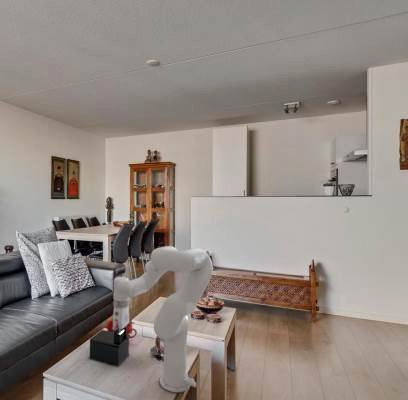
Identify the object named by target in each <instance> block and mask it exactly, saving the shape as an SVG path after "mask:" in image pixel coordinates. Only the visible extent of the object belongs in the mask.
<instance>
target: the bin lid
mask: <svg viewBox="0 0 408 400" xmlns="http://www.w3.org/2000/svg"><path fill="white" fill-rule="evenodd" d="M124 332H125V330H124V329H121V330H120V343H118V342H114V333H113V332H111V331H107V330H104V329H101V330H100V331H98V332H97V333H96V334H95V335H93V336H91V338H90V339H89V342H90V341H94V342H99V343H104V344H108V345H113V346H118V347H120V346H121V345H122V344H123V343H124V342H125V341H126V340H127V339H128V338H129V339H131V338H130V337H131V334H129V335H127V336H126V337H125V336H124ZM121 334H122V336H121Z"/></svg>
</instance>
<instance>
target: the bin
mask: <svg viewBox="0 0 408 400" xmlns="http://www.w3.org/2000/svg"><path fill="white" fill-rule="evenodd" d="M129 354H130V338H128V339H127V340H126V341H125V342H124V343H123V344H122V345H121V346H120V347H118V346H113V345H108V344H104V343H99V342H94V341H90V340H89V359H90V360H93V361H96V362H100V363H103V364H107V365H110V366H113V367H117V368H118V367H120V366H121V364H122V363H123V362H124V361H125V360H126V359H127V358H128V356H129Z"/></svg>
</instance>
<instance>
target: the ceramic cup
mask: <svg viewBox="0 0 408 400" xmlns="http://www.w3.org/2000/svg"><path fill="white" fill-rule="evenodd" d="M131 325H132V324H131V323H130V322H129V323H128V324H127V335H130V338H129V339H133V338H135V337H136V336H137V333H138V332H137V330H136V328H131ZM117 327H118V326H117ZM106 328H107V329H106V331H111V332H113V330H112V328H113V319H112V320H109V321H108V322H107V324H106ZM116 330H117V331H118V329H117V328H116ZM120 330H121V329H120ZM131 331H134V335H131V334H130V333H131Z"/></svg>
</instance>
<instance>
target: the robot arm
mask: <svg viewBox="0 0 408 400" xmlns="http://www.w3.org/2000/svg"><path fill="white" fill-rule="evenodd" d="M144 270H145V271H144V273H142V275H141V276H139V277H137V278H133V279H129V278H128V277H126V276H116V277H115V278H114V279H113V305H112V306H113V313H112V320H113V328H112V330H113V333H114V342H118V343H120V329H124V330H125V332H124V336H125V337H126V336H127V324H128V323H130V307H129V304H130V303H129V301H130V299H129V298H135V297H138V296H140V295H142V294H145V293H146V292H148V291H149V290H151V289H152V288H153V287H154V286H156V284H157V283H158V281H159V280H160V278H161V277H162V276H164V274H166V273H167V272H168V271H170V272H176V273H183V274H184V273H185V274H186V273H189V274H188V275H187V276H186V278H185V279H184V282H183V283H182V286H181V287H180V289H179V290H178V291H175V293H172V294H170V295H169V296H168V297H166V299H165V300H164V302H163V303H162V305H161V307H160V309H159V311H158V313H157V315H156V317H155V319H154V322H153V331H154V333H155V335H156V336H157V338H159V339H160V340H163V343H164V358H163V367H162V368H163V370H162V371H163V373H162V375H161V376H160V378H159V385H160V386H161V387H162V388H163V389H165V390H166V391H168V392H172V393H184V392H187V391H189V389H190V387H193V388H197V382H196V381H195V380H196V379H195V378H190V377H189V373H188V372H187V347H188V344H187V343H188V341H187V340H188V333H189V327H190V326H189V325H190V321H189V317H188V315H190V314H192V313H193V312H194V311H195V309H196V308H197V306H198V305H199V303H200V300H201V298H202V296H203V294H204V292H205V290H206V289H207V287H208V285H209V282H210V281H211V278H212V275H213V271H214V267H213V262H212V259H211V257H210V255H209V253H208V252H207V251H205V250H204V249H202V248H195V247H194V248H189V249H185V250H178V249H177V247H175V246H172V245H165V246H159V247H157V248H155V249H154V250H153V251H152V252H151V254H150V259H149V261H147V262H146V264H145V265H144ZM117 326H118V327H117ZM116 328H117V329H118V331H117V330H116ZM121 336H122V334H121Z"/></svg>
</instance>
